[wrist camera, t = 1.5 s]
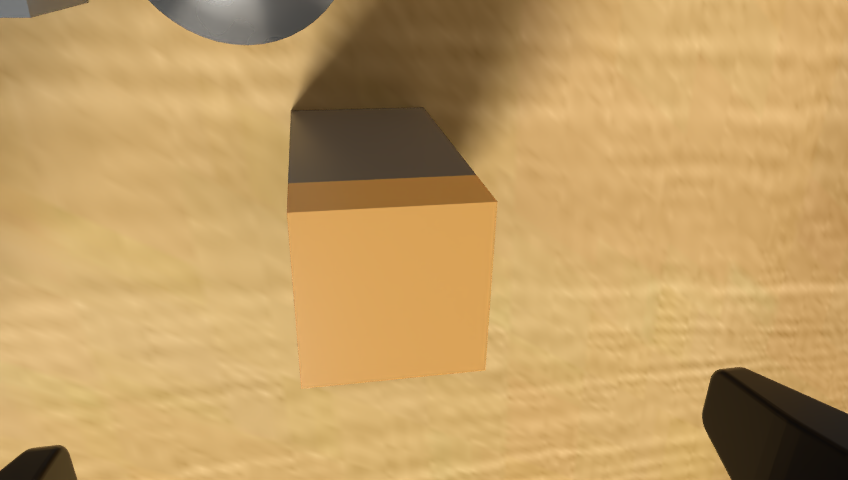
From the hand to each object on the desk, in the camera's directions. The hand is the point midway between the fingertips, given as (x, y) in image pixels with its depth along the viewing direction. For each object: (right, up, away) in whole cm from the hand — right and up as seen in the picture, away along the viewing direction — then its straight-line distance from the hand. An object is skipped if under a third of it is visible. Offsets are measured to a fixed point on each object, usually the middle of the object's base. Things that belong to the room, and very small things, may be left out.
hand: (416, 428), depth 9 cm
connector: (-2, +5, +11) cm, 12 cm away
